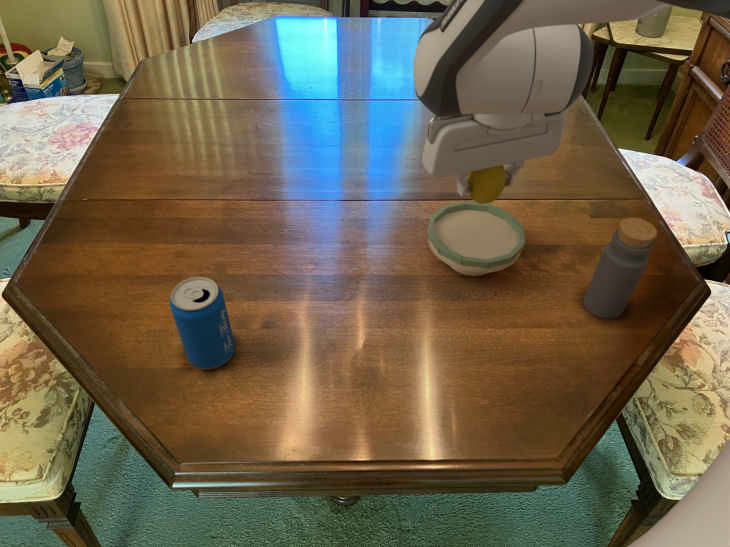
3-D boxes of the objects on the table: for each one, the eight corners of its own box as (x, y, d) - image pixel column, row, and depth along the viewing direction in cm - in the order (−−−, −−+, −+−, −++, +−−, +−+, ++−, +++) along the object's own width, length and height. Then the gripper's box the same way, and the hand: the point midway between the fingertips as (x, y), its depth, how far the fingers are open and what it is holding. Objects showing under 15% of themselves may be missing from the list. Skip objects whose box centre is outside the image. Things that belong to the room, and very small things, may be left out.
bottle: (597, 285, 86) (630, 209, 76) (630, 307, 83) (670, 230, 73) (575, 302, 84) (606, 225, 73) (609, 325, 80) (646, 248, 70)
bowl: (535, 278, 87) (544, 248, 83) (450, 301, 83) (455, 272, 79) (487, 222, 97) (493, 193, 93) (410, 241, 94) (413, 212, 89)
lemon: (501, 196, 84) (512, 150, 78) (497, 217, 80) (508, 171, 75) (465, 190, 85) (473, 144, 80) (460, 211, 81) (467, 164, 76)
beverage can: (221, 378, 73) (204, 317, 65) (178, 364, 74) (156, 304, 66) (244, 342, 77) (231, 281, 69) (203, 330, 79) (186, 269, 70)
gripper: (441, 124, 66) (429, 215, 76) (582, 99, 72) (555, 187, 81) (419, 101, 70) (411, 190, 80) (554, 78, 76) (531, 164, 85)
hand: (484, 188), depth 81 cm, fingers closed on lemon, 5 cm apart
